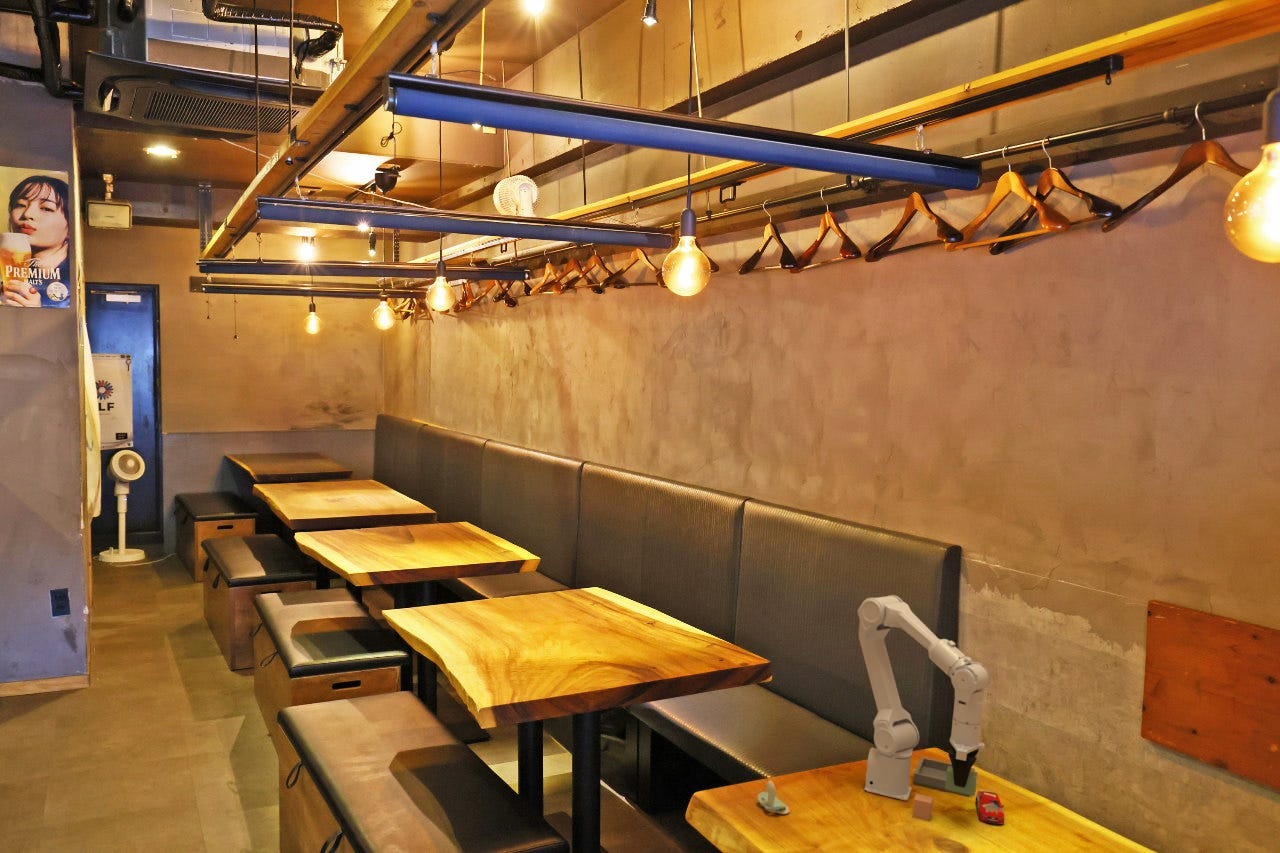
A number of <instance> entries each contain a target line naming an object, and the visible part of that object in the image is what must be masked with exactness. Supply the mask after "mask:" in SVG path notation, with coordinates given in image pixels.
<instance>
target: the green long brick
mask: <svg viewBox="0 0 1280 853" xmlns="http://www.w3.org/2000/svg"><path fill="white" fill-rule="evenodd" d="M978 774H979V773H978V771H975V772H974V771H970V772H969V776H968V780H967V783H966V786H965V788H964V787H959V786H955V784H954V777H953V767H952V766H948V769H947V774H946V784H945V789H946V790H950V791H954V792H959V793H963V794H967V795H970V797H971V796H972V797H976V796H975V794H976V793H977V792H976V791H977V781H978Z"/></svg>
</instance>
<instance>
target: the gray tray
mask: <svg viewBox="0 0 1280 853" xmlns="http://www.w3.org/2000/svg"><path fill="white" fill-rule="evenodd" d="M948 766H952V763H950V762H946V761H943V760H941V761H940V760H936V759H932V758H928V757H923V756H921V757H920V758H919V761H918V763H917V766H916V768H915V770H914V772H913V777H912V778H913V779H912V780H913V781H912V784H913V785H915V786H920V787H925V788H929V789H931V790H932V789H933V790H937V791H942V792H946V793H951V794H954V795H959V796H963V797H966V798H967V797H968V798H971V795H967V794H963V793H959V792H954V791H950V790H946V789H945V784H946V774H947V769H948ZM975 770H976V768H973V767H972V768H971V770H970V771H974V772H976V771H975Z"/></svg>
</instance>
